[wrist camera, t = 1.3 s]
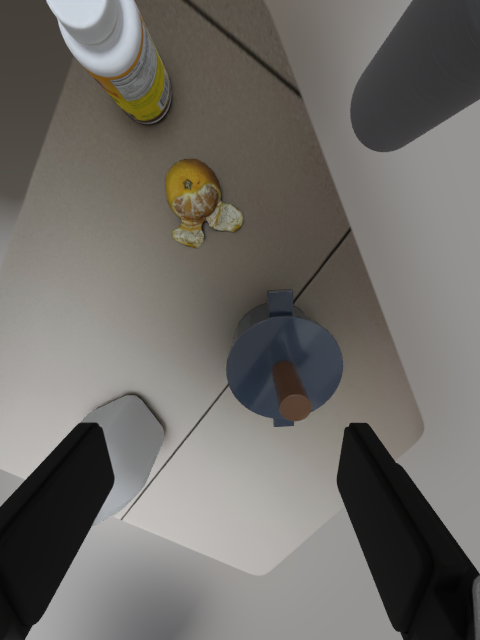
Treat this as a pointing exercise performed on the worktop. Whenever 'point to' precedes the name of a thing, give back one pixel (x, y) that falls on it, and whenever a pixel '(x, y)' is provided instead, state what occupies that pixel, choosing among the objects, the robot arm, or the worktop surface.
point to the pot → (276, 306)
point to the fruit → (198, 202)
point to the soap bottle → (127, 448)
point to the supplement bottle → (117, 53)
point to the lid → (284, 367)
